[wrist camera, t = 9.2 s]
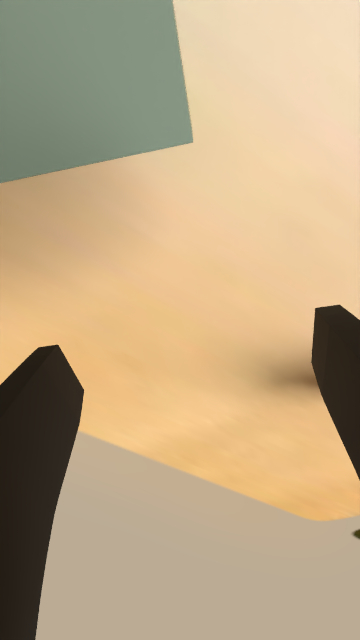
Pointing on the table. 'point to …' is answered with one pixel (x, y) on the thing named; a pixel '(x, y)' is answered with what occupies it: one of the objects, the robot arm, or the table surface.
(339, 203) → the table surface
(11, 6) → the board
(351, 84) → the table surface
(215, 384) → the table surface
